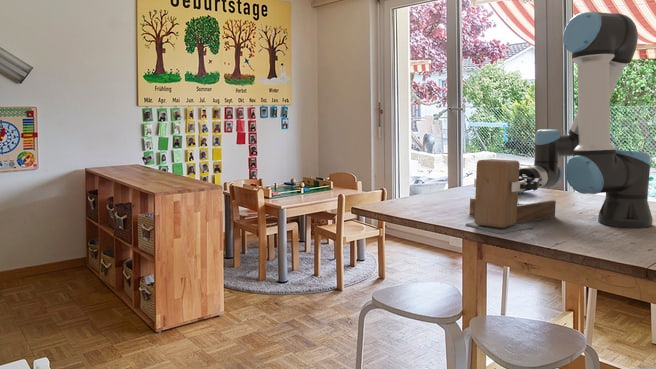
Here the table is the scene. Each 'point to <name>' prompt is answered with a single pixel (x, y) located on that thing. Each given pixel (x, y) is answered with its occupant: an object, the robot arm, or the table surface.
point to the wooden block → (496, 193)
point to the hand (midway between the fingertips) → (493, 185)
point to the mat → (500, 230)
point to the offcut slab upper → (527, 203)
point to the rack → (528, 210)
